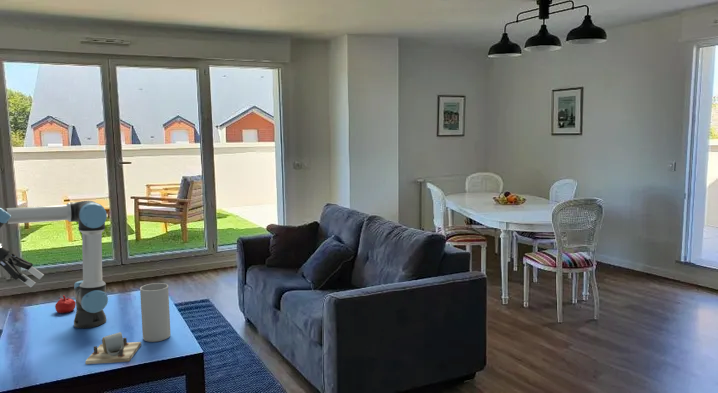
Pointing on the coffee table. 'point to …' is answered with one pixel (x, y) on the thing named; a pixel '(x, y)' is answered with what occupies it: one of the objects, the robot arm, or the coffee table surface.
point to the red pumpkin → (65, 305)
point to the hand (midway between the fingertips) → (37, 281)
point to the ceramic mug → (113, 343)
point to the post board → (123, 355)
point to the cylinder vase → (155, 312)
